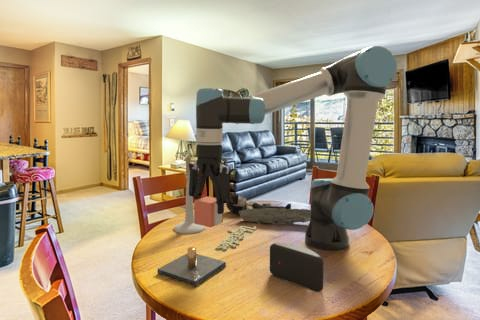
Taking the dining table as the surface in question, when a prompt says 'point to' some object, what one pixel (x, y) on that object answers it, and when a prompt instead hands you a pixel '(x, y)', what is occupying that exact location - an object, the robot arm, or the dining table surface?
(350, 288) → the dining table surface
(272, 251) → the leaning round-cornered charcoal block
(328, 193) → the robot arm
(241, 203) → the figurine
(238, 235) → the decorative sign
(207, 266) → the gray slab
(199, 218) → the salmon pink cube
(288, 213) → the stone fragment
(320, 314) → the dining table surface
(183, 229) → the candlestick
